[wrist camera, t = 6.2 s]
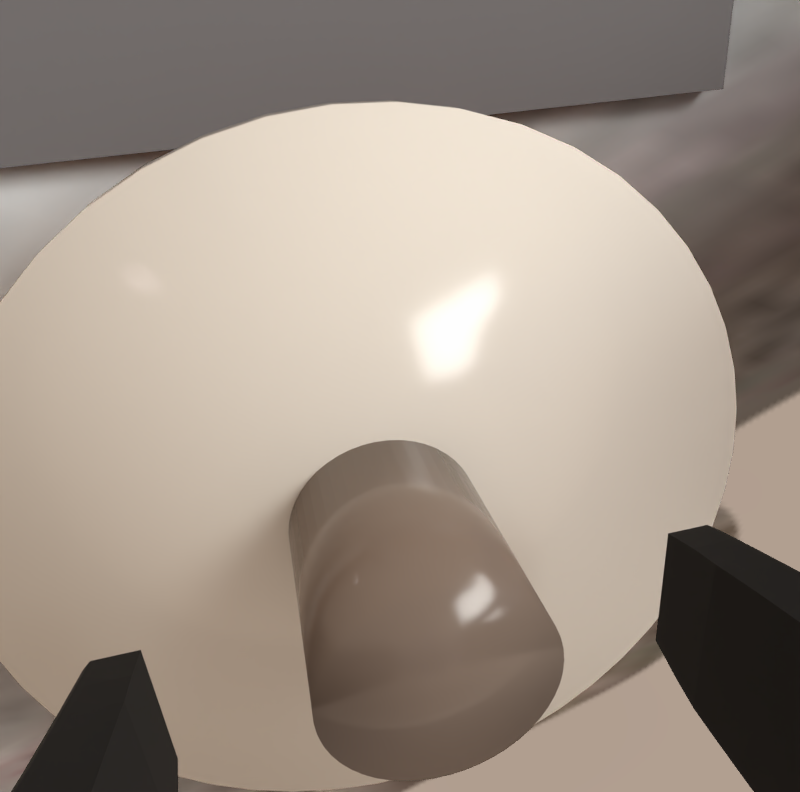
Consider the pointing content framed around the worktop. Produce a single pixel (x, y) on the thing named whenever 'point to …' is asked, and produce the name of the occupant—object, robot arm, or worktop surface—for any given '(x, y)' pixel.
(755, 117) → the worktop surface
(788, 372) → the worktop surface
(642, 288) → the lid
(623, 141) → the worktop surface
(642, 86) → the mat
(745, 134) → the worktop surface
